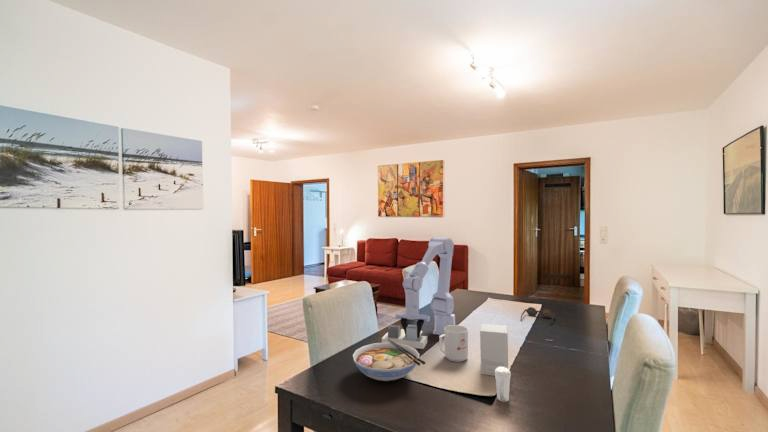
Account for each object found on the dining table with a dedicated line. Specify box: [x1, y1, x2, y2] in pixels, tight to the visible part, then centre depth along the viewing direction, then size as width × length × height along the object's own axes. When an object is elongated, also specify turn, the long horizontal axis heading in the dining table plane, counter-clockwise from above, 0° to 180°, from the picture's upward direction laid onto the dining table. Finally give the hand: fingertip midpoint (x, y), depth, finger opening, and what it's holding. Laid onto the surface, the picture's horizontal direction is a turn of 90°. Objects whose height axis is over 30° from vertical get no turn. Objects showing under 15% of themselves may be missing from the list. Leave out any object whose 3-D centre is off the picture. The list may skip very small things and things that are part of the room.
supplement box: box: [479, 323, 509, 377], centre depth 121 cm, size 9×9×15 cm
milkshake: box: [493, 366, 512, 403], centre depth 102 cm, size 4×5×10 cm
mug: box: [438, 324, 469, 363], centre depth 131 cm, size 12×9×11 cm
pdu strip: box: [381, 324, 428, 350], centre depth 147 cm, size 18×8×7 cm, turn 72°
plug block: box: [406, 324, 419, 342], centre depth 146 cm, size 4×4×6 cm
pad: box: [401, 328, 423, 336], centre depth 158 cm, size 10×10×1 cm
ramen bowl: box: [352, 339, 426, 382], centre depth 117 cm, size 25×23×8 cm
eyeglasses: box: [520, 306, 555, 327], centre depth 178 cm, size 15×15×5 cm
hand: (412, 336), depth 146 cm, fingers closed on plug block, 4 cm apart
